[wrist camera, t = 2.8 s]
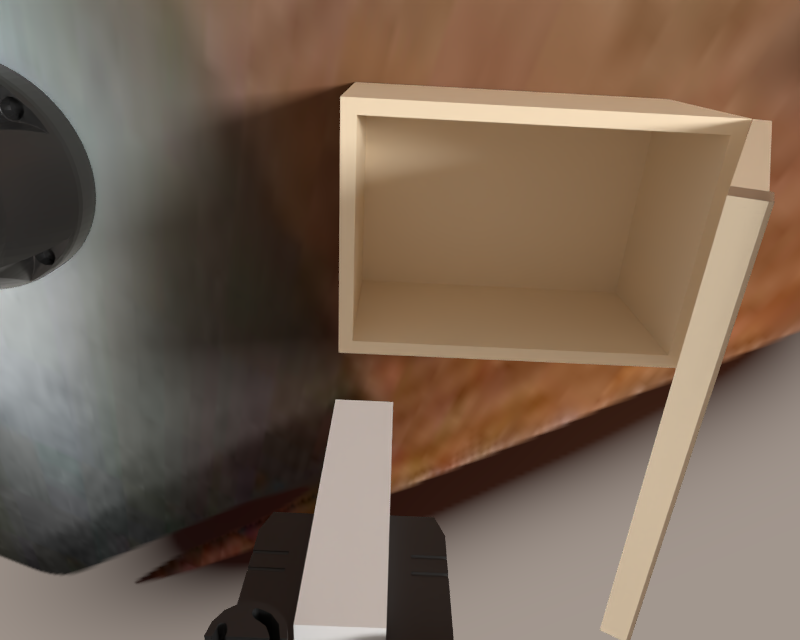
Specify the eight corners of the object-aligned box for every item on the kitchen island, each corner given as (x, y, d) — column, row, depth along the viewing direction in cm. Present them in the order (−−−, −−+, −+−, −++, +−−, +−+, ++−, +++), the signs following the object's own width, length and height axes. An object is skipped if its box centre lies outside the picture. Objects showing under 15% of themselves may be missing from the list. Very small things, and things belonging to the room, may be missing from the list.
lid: (599, 630, 19) (629, 644, 18) (726, 195, 13) (774, 202, 12) (679, 368, 35) (695, 373, 34) (752, 119, 29) (774, 121, 28)
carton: (351, 286, 43) (338, 352, 34) (355, 82, 37) (340, 96, 28) (621, 299, 44) (678, 368, 35) (668, 99, 38) (751, 118, 29)
